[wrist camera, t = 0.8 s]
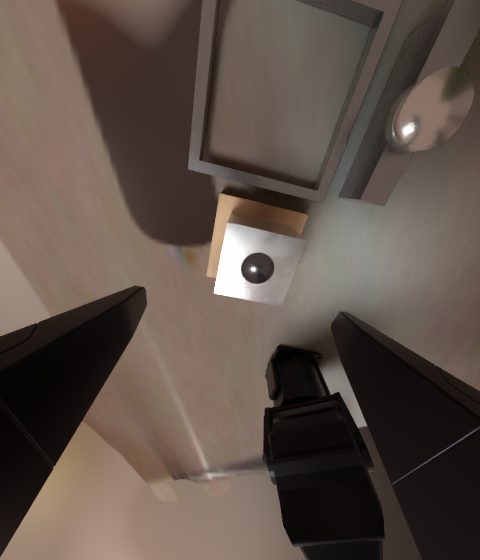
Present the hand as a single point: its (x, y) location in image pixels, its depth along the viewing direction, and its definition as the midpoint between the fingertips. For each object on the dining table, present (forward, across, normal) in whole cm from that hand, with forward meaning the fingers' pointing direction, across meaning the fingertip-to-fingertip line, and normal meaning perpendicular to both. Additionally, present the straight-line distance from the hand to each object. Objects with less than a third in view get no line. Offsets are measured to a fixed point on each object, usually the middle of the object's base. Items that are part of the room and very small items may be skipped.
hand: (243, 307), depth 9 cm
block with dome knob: (+10, -1, 0) cm, 10 cm away
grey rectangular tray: (+12, -3, -10) cm, 16 cm away
